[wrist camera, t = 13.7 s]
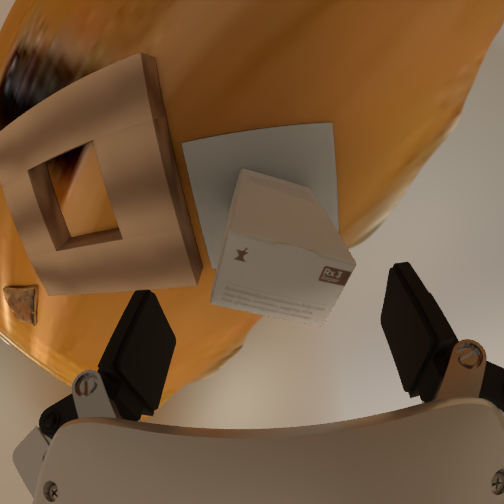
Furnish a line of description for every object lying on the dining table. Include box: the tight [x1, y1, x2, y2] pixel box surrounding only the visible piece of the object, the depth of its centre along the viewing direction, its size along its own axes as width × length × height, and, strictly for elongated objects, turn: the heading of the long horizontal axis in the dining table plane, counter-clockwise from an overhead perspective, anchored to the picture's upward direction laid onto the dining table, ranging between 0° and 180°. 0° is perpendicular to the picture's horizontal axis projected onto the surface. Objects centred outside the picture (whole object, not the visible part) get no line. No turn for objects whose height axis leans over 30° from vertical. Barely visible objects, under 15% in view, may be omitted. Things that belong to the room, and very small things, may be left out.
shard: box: [3, 285, 38, 326], centre depth 32 cm, size 11×8×2 cm
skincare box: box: [210, 169, 356, 327], centre depth 18 cm, size 6×4×12 cm
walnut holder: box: [0, 53, 203, 296], centre depth 22 cm, size 20×20×3 cm
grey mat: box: [182, 122, 339, 269], centre depth 23 cm, size 12×12×1 cm
